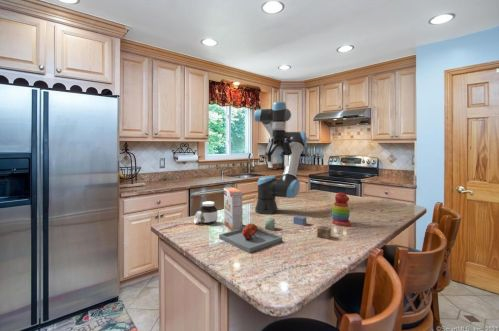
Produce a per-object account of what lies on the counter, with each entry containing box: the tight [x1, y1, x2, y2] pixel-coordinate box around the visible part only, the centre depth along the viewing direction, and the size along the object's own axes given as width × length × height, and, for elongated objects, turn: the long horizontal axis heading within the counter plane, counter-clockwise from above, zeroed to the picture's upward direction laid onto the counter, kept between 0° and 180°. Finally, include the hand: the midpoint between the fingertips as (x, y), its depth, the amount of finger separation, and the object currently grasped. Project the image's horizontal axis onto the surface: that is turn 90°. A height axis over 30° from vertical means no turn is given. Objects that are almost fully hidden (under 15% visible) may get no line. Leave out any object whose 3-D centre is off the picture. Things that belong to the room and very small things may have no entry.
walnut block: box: [316, 225, 332, 240], centre depth 127 cm, size 5×5×4 cm
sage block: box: [264, 217, 276, 231], centre depth 140 cm, size 5×5×5 cm
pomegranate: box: [242, 223, 259, 240], centre depth 123 cm, size 7×7×10 cm
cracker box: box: [223, 186, 244, 231], centre depth 140 cm, size 14×6×21 cm, turn 23°
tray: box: [218, 227, 283, 254], centre depth 123 cm, size 22×20×2 cm
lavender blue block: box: [293, 215, 307, 226], centre depth 148 cm, size 6×4×4 cm, turn 50°
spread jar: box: [193, 200, 218, 225], centre depth 149 cm, size 12×11×12 cm
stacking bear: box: [331, 191, 353, 228], centre depth 148 cm, size 11×10×18 cm
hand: (278, 167), depth 152 cm, fingers open, 13 cm apart
